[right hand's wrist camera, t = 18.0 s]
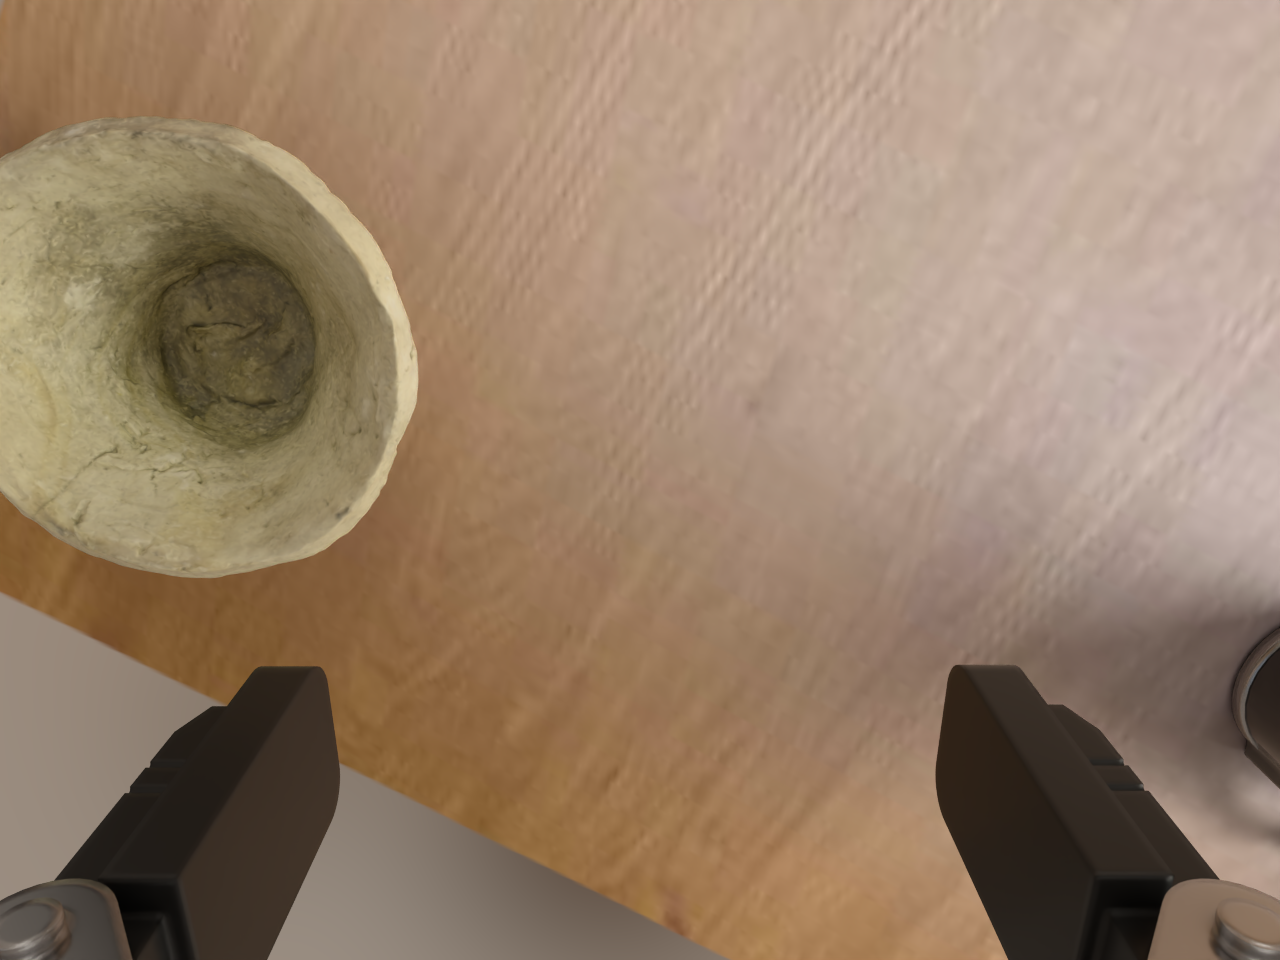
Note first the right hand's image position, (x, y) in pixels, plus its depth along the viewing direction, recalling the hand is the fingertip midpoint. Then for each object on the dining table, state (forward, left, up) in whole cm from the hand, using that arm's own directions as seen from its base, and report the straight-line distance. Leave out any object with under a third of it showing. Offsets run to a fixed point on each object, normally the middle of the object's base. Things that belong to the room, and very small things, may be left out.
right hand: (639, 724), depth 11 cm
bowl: (0, +18, -31) cm, 36 cm away
